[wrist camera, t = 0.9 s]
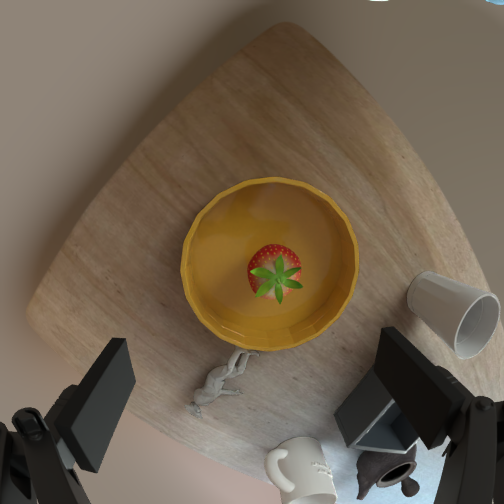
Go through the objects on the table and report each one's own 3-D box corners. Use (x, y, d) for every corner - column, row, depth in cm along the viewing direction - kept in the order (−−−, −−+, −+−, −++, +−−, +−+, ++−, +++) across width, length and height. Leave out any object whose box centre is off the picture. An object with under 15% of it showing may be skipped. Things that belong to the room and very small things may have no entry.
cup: (394, 316, 36) (443, 360, 24) (411, 260, 34) (471, 289, 22) (434, 320, 37) (483, 358, 25) (451, 269, 35) (507, 296, 23)
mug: (281, 420, 38) (294, 481, 27) (330, 443, 41) (349, 495, 29) (245, 446, 40) (249, 505, 28) (296, 467, 42) (308, 518, 30)
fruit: (258, 229, 32) (266, 242, 24) (300, 249, 32) (320, 269, 25) (237, 272, 33) (237, 299, 25) (278, 291, 33) (290, 321, 26)
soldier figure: (270, 355, 37) (228, 426, 35) (242, 338, 40) (203, 407, 38) (243, 349, 30) (194, 433, 29) (212, 329, 33) (167, 409, 31)
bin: (386, 346, 37) (411, 374, 29) (436, 368, 39) (460, 391, 32) (333, 414, 39) (347, 447, 32) (388, 426, 41) (405, 453, 34)
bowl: (234, 149, 30) (234, 143, 26) (369, 228, 33) (387, 234, 29) (163, 291, 33) (153, 306, 29) (294, 352, 36) (302, 371, 31)
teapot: (329, 468, 43) (342, 507, 33) (394, 420, 41) (417, 457, 31) (376, 483, 46) (390, 513, 36) (429, 443, 44) (449, 471, 35)
